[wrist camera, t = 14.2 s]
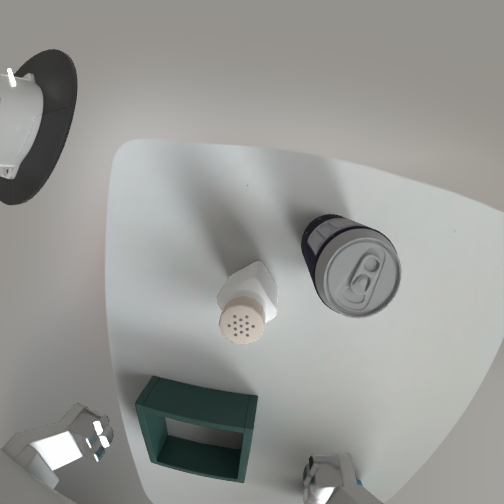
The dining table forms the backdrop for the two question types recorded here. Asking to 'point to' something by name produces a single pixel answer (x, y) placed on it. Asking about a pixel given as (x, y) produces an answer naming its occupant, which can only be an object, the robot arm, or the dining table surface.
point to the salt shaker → (247, 303)
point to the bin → (199, 413)
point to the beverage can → (351, 265)
